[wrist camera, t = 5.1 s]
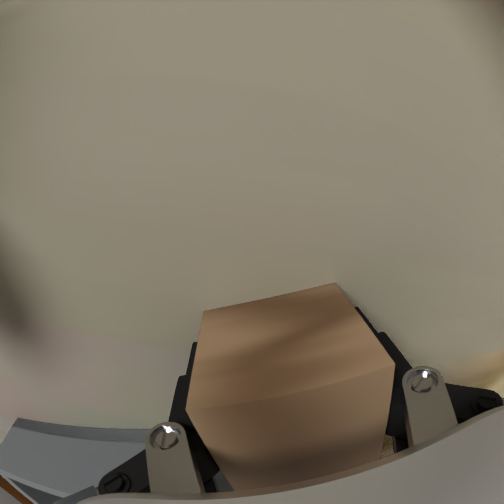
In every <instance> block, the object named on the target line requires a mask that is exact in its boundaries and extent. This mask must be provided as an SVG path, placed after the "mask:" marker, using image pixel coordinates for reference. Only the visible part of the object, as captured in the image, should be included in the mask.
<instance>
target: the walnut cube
mask: <svg viewBox="0 0 504 504" xmlns="http://www.w3.org/2000/svg"><path fill="white" fill-rule="evenodd" d="M394 370H395V363H394V361H393V360H392V359H391V357H390V356H389V354H388V353H387V352H386V350H385V349H384V347H383V346H382V345H381V343H380V342H379V340H378V339H377V338H376V336H375V335H374V334H373V332H372V331H371V329H370V328H369V327H368V325H367V324H366V323H365V321H364V320H363V319H362V317H361V316H360V315H359V313H358V312H357V311H356V309H355V308H354V307H353V305H352V304H351V303H350V301H349V300H348V299H347V297H346V296H345V295H344V293H343V292H342V291H341V289H340V288H339V287H338V285H337V284H336V283H331V284H327V285H323V286H319V287H315V288H311V289H306V290H302V291H298V292H293V293H289V294H284V295H280V296H275V297H271V298H266V299H262V300H257V301H252V302H247V303H242V304H238V305H233V306H228V307H223V308H217V309H212V310H207V311H204V313H203V318H202V323H201V328H200V333H199V338H198V343H197V348H196V354H195V359H194V364H193V370H192V375H191V381H190V386H189V392H188V398H187V404H186V409H185V410H186V412H187V414H188V416H189V418H190V419H191V421H192V423H193V425H194V427H195V428H196V430H197V432H198V434H199V435H200V437H201V439H202V440H203V442H204V444H205V445H206V447H207V449H208V450H209V452H210V454H211V455H212V457H213V459H214V460H215V462H216V463H217V465H218V466H219V468H220V470H221V471H222V473H223V474H224V476H225V477H226V479H227V480H228V482H229V483H230V485H231V486H232V488H233V489H234V490H235V491H242V490H251V489H259V488H266V487H273V486H279V485H285V484H291V483H296V482H301V481H306V480H310V479H315V478H319V477H323V476H327V475H331V474H335V473H338V472H342V471H345V470H349V469H352V468H355V467H358V466H362V465H365V464H368V463H371V462H374V461H377V460H379V459H380V456H381V452H382V447H383V442H384V437H385V432H386V427H387V421H388V415H389V409H390V402H391V395H392V388H393V379H394Z"/></svg>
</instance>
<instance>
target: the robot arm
mask: <svg viewBox="0 0 504 504" xmlns="http://www.w3.org/2000/svg"><path fill="white" fill-rule="evenodd" d="M355 309H356V311H357V312H358V313H359V315H360V316H361V317H362V319H363V320H364V321H365V323H366V324H367V325H368V327H369V328H370V329H371V331H372V332H373V334H374V335H375V336H376V338H377V339H378V340H379V342H380V343H381V345H382V346H383V347H384V349H385V350H386V352H387V353H388V354H389V356H390V357H391V359H392V360H393V361H394V363H395V370H394V379H393V388H392V395H391V402H390V409H389V415H388V421H387V427H386V432H385V433H386V435H389V436H392V440H393V450H394V454H393V455H390V456H388V457H385V458H382V459H379V460H377V461H374V462H371V463H368V464H365V465H362V466H358V467H355V468H352V469H349V470H345V471H342V472H338V473H335V474H331V475H327V476H323V477H319V478H315V479H310V480H306V481H301V482H296V483H291V484H285V485H279V486H273V487H266V488H259V489H251V490H242V491H231V492H220V491H219V488H218V485H217V482H216V479H215V476H214V475H216V474H217V473H218V472H219V470H220V468H219V466H218V465H217V463H216V462H215V460H214V459H213V457H212V455H211V454H210V452H209V450H208V449H207V447H206V445H205V444H204V442H203V440H202V439H201V437H200V435H199V434H198V432H197V430H196V428H195V427H194V425H193V423H192V421H191V419H190V418H189V416H188V414H187V412H186V410H185V409H186V404H187V398H188V392H189V386H190V381H191V375H192V370H193V364H194V359H195V354H196V348H197V343H198V342H194V343H193V344H192V349H191V353H190V358H189V363H188V368H187V372H186V375H183V376H180V377H179V378H178V381H177V386H176V390H175V394H174V399H173V403H172V408H171V412H170V417H169V421H168V422H163V423H160V424H158V425H156V426H154V427H153V428H151V429H150V430H149V432H148V433H147V435H146V437H145V448H146V449H144V450H143V451H141V452H140V453H138V454H137V455H135V456H134V457H132V458H131V459H129V460H127V461H126V462H124V463H123V464H121V465H120V466H118V467H116V468H115V469H113V470H112V471H110V472H108V473H107V474H106V475H104V476H103V477H102V479H101V480H100V482H99V485H98V487H94V486H93V485H92V486H90V487H88V488H86V489H83V490H81V491H79V492H77V493H74V494H72V495H69V496H67V497H64V498H62V499H59V500H57V501H55V502H54V503H53V504H504V398H501V397H500V396H499V394H498V393H496V392H494V391H491V390H487V389H480V388H472V387H466V386H459V385H453V384H447V383H444V380H443V377H442V375H441V374H440V372H439V371H437V370H436V369H434V368H432V367H428V366H418V367H415V368H412V367H411V366H410V364H409V363H408V362H407V360H406V359H405V358H404V356H403V355H402V354H401V352H400V351H399V350H398V349H397V347H396V346H395V345H394V343H393V342H392V341H391V340H390V338H389V337H388V336H387V334H386V333H385V332H380V333H377V331H376V330H375V329H374V327H373V326H372V325H371V323H370V322H369V321H368V319H367V318H366V317H365V316H364V314H363V313H362V312H361V310H360V309H359V308H358V307H355Z"/></svg>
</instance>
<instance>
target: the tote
mask: <svg viewBox="0 0 504 504" xmlns="http://www.w3.org/2000/svg"><path fill="white" fill-rule="evenodd" d="M149 430H150V429H104V428H88V427H76V426H67V425H58V424H51V423H44V422H37V421H31V420H26V419H20V418H17V420H16V421H15V423H14V424H13V426H12V427H11V429H10V431H9V432H8V434H7V435H6V437H5V439H4V440H3V442H2V444H1V445H0V475H2V476H3V477H4V478H5V479H6V480H7V481H8V482H9V483H10V484H11V485H12V486H14V487H15V488H16V489H17V490H18V491H19V492H21V493H22V494H23V495H24V496H25V497H27V498H28V499H29V500H30V501H32V502H33V503H34V504H53V503H54V502H55V501H57V500H59V499H62V498H64V497H67V496H69V495H72V494H74V493H77V492H79V491H81V490H83V489H86V488H88V487H90V486H92V485H93V486H94V487H98V485H99V482H100V480H101V479H102V477H103V476H104V475H106V474H107V473H108V472H110V471H112V470H113V469H115V468H116V467H118V466H120V465H121V464H123V463H124V462H126V461H127V460H129V459H131V458H132V457H134V456H135V455H137V454H138V453H140V452H141V451H143V450H144V449H146V448H145V437H146V435H147V433H148V432H149ZM214 476H215V479H216V482H217V485H218V488H219V491H220V492H231V491H235V490H234V489H233V488H232V486H231V485H230V483H229V482H228V480H227V479H226V477H225V476H224V474H223V473H222V471H221V470H219V472H218V473H217V474H216V475H214Z"/></svg>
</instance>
